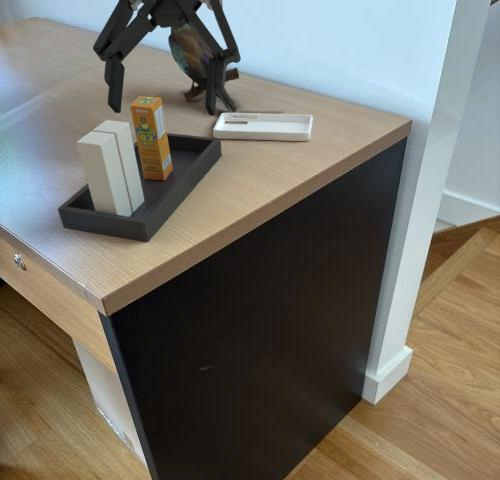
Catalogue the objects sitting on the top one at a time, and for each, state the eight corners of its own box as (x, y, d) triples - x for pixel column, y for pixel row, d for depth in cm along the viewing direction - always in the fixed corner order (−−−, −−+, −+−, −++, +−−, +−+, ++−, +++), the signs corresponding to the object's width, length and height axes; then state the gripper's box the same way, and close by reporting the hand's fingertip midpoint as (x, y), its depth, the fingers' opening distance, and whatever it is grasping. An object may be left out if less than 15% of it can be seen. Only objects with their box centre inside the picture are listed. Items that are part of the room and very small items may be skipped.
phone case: (213, 138, 80) (309, 141, 78) (212, 130, 79) (309, 132, 77) (222, 120, 85) (312, 122, 83) (221, 112, 84) (313, 114, 82)
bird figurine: (265, 104, 87) (228, -24, 82) (214, 118, 84) (172, -14, 79) (236, 124, 99) (202, 13, 94) (190, 137, 96) (152, 23, 91)
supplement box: (142, 180, 69) (127, 104, 62) (152, 168, 72) (138, 94, 65) (164, 182, 68) (152, 105, 62) (174, 170, 71) (163, 95, 64)
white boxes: (98, 223, 62) (75, 141, 55) (124, 197, 66) (106, 119, 59) (120, 226, 61) (100, 144, 54) (144, 201, 65) (129, 122, 58)
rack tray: (63, 227, 62) (57, 208, 60) (151, 147, 78) (148, 130, 76) (148, 242, 59) (144, 222, 57) (221, 155, 75) (220, 138, 73)
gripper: (77, -64, 68) (62, 94, 68) (262, -68, 64) (247, 98, 64) (101, -23, 75) (87, 119, 75) (268, -26, 72) (255, 124, 71)
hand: (161, 110), depth 69 cm, fingers open, 13 cm apart
